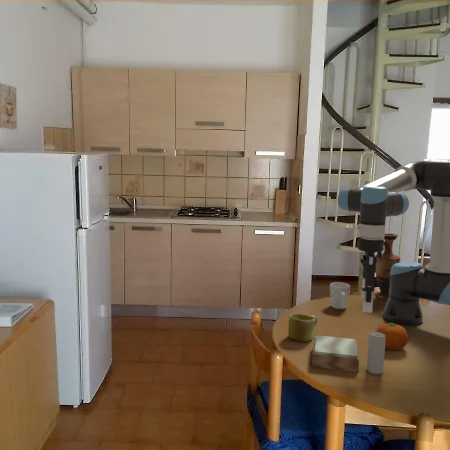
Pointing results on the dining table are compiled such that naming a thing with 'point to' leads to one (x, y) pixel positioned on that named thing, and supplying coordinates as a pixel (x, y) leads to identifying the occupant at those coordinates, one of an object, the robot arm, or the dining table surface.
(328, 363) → the podium
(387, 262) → the vase
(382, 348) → the beverage can
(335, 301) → the mug
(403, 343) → the fruit
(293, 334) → the mug
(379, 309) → the dining table surface
